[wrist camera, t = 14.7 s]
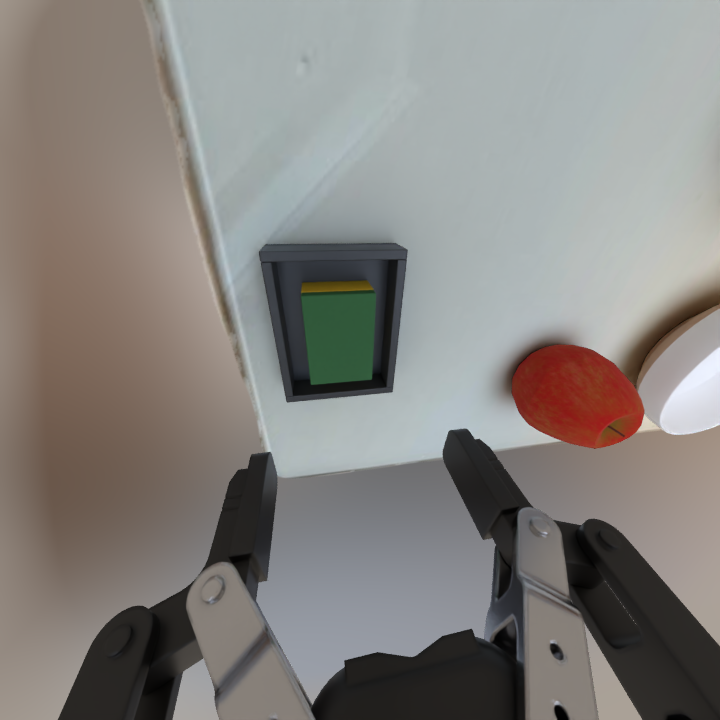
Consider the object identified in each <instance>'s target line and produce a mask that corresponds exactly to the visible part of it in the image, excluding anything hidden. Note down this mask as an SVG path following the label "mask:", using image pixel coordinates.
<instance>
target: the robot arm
mask: <svg viewBox="0 0 720 720" xmlns="http://www.w3.org/2000/svg"><path fill="white" fill-rule="evenodd" d="M443 460H444V463H445V465H446V467H447V469H448V471H449V473H450V475H451V477H452V479H453V481H454V483H455V485H456V487H457V489H458V491H459V493H460V495H461V497H462V499H463V501H464V503H465V505H466V507H467V509H468V511H469V513H470V515H471V517H472V519H473V521H474V523H475V525H476V527H477V529H478V531H479V533H480V535H481V537H482V539H483V540H485V539H490V538H493V540H494V542H495V544H496V546H495V553H494V568H493V582H492V596H491V603H490V607H489V610H488V613H487V618H486V624H485V634H484V639H481V638H478V637H475V636H474V633H473V630H472V629H469V630H465V631H461V632H457V633H453V634H449V635H445V636H442V637H441V638H439V639H438V640H437V641H435V642H434V643H433V644H431V645H430V646H429V647H427V648H426V649H425V650H423V651H422V652H421V653H419V654H418V655H417V656H415V657H405V656H399V655H392V654H386V653H378V652H377V653H373V654H369V655H365V656H361V657H357V658H353V659H349V660H345V661H344V662H345V667H344V668H343V669H341V670H340V671H339V672H337V673H336V674H335V675H334V676H333V677H332V678H331V679H330V680H329V681H328V683H327V684H326V685H325V686H324V687H323V689H322V690H321V692H320V693H319V695H318V696H317V698H316V699H315V701H314V704H313V705H312V703H311V701H310V699H309V697H308V696H307V694H306V692H305V690H304V688H303V686H302V685H301V683H300V681H299V679H298V677H297V675H296V673H295V672H294V670H293V668H292V666H291V664H290V663H289V661H288V659H287V657H286V655H285V654H284V652H283V650H282V648H281V646H280V645H279V643H278V641H277V639H276V637H275V635H274V633H273V632H272V630H271V628H270V626H269V624H268V622H267V620H266V619H265V617H264V615H263V613H262V611H261V609H260V607H259V606H258V604H257V602H256V597H257V588H258V582H262V581H267V577H268V567H269V558H270V549H271V540H272V531H273V522H274V512H275V503H276V494H277V472H276V468H275V465H274V461H273V457H272V454H271V452H266V453H258V454H252V455H251V457H250V461H249V466H248V469H241V470H238V471H237V472H236V474H235V475H234V476H233V478H232V479H231V481H230V482H229V486H228V489H227V493H226V498H225V500H224V503H223V507H222V512H221V514H220V518H219V522H218V525H217V529H216V532H215V536H214V540H213V543H212V547H211V550H210V554H209V557H208V560H207V562H206V565H205V567H204V568H203V570H202V571H201V573H200V574H199V576H198V577H197V578H196V579H195V580H194V581H193V582H192V583H191V584H190V585H189V586H188V587H186V588H185V589H183V590H182V591H180V592H179V593H177V594H175V595H173V596H171V597H169V598H167V599H166V600H164V601H162V602H160V603H158V604H156V605H155V606H153V607H151V608H149V609H148V608H146V607H144V606H133V607H130V608H128V609H126V610H124V611H122V612H120V613H119V614H117V615H116V616H115V617H114V618H112V619H111V620H110V621H109V622H108V623H107V624H106V625H105V626H104V627H103V629H102V630H101V631H100V632H99V634H98V635H97V636H96V638H95V639H94V641H93V643H92V645H91V646H90V649H89V651H88V653H87V655H86V657H85V659H84V662H83V664H82V666H81V668H80V671H79V673H78V675H77V678H76V680H75V682H74V685H73V687H72V689H71V691H70V693H69V696H68V698H67V700H66V703H65V705H64V707H63V709H62V712H61V714H60V716H59V718H58V720H172V718H173V714H174V710H175V705H176V701H177V696H178V692H179V687H180V683H181V678H182V674H183V671H184V670H186V669H188V668H189V667H191V666H192V665H194V664H195V663H197V662H198V661H200V660H201V659H203V658H204V660H205V663H206V666H207V668H208V671H209V674H210V677H211V679H212V682H213V686H214V690H215V706H216V710H217V714H218V717H219V720H599V718H598V711H597V705H596V699H595V692H594V685H593V678H592V672H591V666H590V659H589V652H588V646H587V639H586V632H585V626H584V623H585V624H586V626H587V628H588V629H589V631H590V633H591V634H592V636H593V638H594V639H595V641H596V643H597V644H598V646H599V647H600V649H601V651H602V653H603V654H604V656H605V658H606V659H607V661H608V663H609V664H610V666H611V668H612V669H613V671H614V673H615V674H616V676H617V678H618V679H619V681H620V683H621V685H622V686H623V688H624V690H625V691H626V693H627V695H628V696H629V698H630V700H631V701H632V703H633V705H634V706H635V708H636V709H637V711H638V713H639V714H640V716H641V718H642V720H720V646H719V645H718V644H717V643H716V641H715V640H714V639H713V638H712V637H711V636H710V634H709V633H708V632H707V631H706V630H705V629H704V628H703V626H701V624H700V623H699V622H698V621H697V619H696V618H695V617H694V616H693V615H692V614H691V612H690V611H689V610H688V609H687V608H686V607H685V606H684V605H683V603H682V602H681V601H680V600H679V599H678V597H676V595H675V594H674V593H673V592H672V591H671V590H670V588H669V587H668V586H667V585H666V584H665V582H664V581H663V580H662V579H661V578H660V577H659V576H658V574H657V573H656V572H655V571H654V570H653V569H652V567H651V566H650V565H649V564H648V563H647V562H646V561H645V559H644V558H643V557H642V556H641V555H640V554H639V552H638V551H637V550H636V549H635V548H634V547H633V546H632V544H631V543H630V542H629V541H628V540H627V539H626V538H625V536H624V535H623V534H622V533H620V532H619V531H618V530H617V529H616V528H614V527H613V526H611V525H610V524H608V523H606V522H604V521H601V520H597V519H588V520H587V521H586V522H585V523H583V524H582V525H577V524H571V523H566V522H560V521H556V520H553V519H552V518H550V517H549V516H548V515H547V514H546V513H544V512H542V511H541V510H539V509H536V508H534V507H533V506H531V504H530V503H529V502H528V500H527V499H526V498H525V496H524V495H523V493H522V492H521V491H520V489H519V488H518V486H517V485H516V484H515V482H514V481H513V479H512V478H511V476H510V475H509V474H508V472H507V471H506V469H504V467H503V465H502V464H501V462H500V461H499V460H498V459H497V457H496V455H495V454H494V453H493V451H492V450H491V448H490V447H489V446H487V445H486V444H485V443H484V442H482V441H481V440H480V439H476V440H475V439H474V437H473V436H472V434H471V433H470V432H469V430H467V429H458V430H450V431H449V432H448V435H447V439H446V442H445V445H444V449H443ZM605 581H606V582H607V583H606V582H605ZM608 585H609V586H608ZM610 588H611V589H612V590H611V589H610ZM613 592H614V593H613ZM615 595H616V596H617V597H616V596H615ZM618 599H619V600H618ZM571 601H572V602H571ZM620 602H621V603H622V604H621V603H620ZM623 606H624V607H623ZM625 609H626V610H627V611H626V610H625ZM628 613H629V614H628ZM630 616H631V617H632V618H631V617H630ZM633 620H634V621H633ZM635 623H636V624H635Z"/></svg>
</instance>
